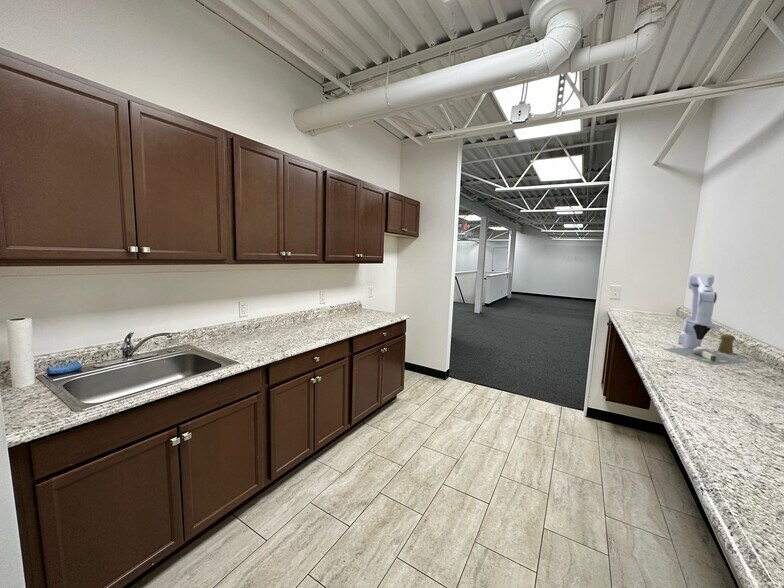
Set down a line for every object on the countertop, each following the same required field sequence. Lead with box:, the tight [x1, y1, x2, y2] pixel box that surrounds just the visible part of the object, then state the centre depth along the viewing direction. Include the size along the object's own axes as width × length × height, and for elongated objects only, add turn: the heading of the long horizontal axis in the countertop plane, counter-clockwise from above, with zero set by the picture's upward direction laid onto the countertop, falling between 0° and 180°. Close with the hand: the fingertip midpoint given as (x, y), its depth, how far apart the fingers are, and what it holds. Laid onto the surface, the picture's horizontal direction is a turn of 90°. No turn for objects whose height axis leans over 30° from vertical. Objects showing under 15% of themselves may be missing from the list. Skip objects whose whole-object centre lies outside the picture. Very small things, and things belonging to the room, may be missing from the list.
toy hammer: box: [693, 346, 716, 361], centre depth 161 cm, size 14×6×4 cm, turn 162°
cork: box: [717, 333, 736, 354], centre depth 170 cm, size 6×6×11 cm
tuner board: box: [662, 347, 749, 366], centre depth 164 cm, size 24×23×1 cm
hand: (699, 339), depth 163 cm, fingers closed
